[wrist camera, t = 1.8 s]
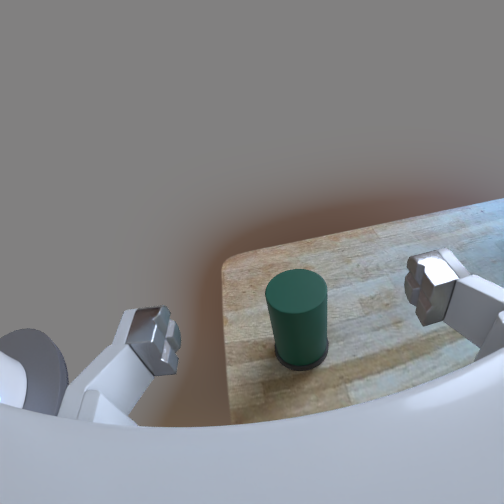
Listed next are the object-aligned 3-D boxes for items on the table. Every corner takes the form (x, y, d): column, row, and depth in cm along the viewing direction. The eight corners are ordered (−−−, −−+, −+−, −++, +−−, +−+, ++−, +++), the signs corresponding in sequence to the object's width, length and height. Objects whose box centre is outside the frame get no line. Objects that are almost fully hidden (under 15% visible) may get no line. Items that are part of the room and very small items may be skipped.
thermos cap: (301, 380, 27) (296, 327, 21) (264, 349, 30) (249, 292, 25) (339, 345, 29) (343, 286, 23) (301, 319, 33) (295, 258, 27)
